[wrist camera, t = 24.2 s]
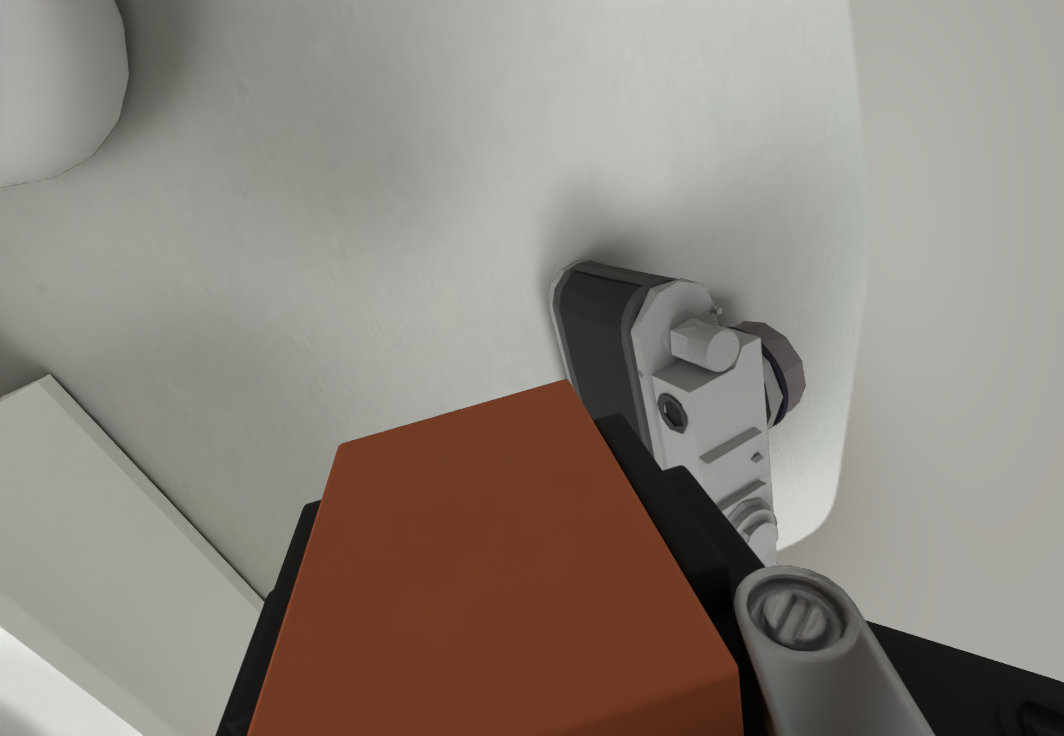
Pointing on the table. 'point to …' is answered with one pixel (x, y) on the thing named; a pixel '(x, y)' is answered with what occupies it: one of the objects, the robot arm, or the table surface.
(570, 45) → the table surface
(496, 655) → the pad
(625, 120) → the table surface
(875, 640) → the robot arm
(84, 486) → the butter dish
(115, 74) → the donut
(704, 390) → the camera
